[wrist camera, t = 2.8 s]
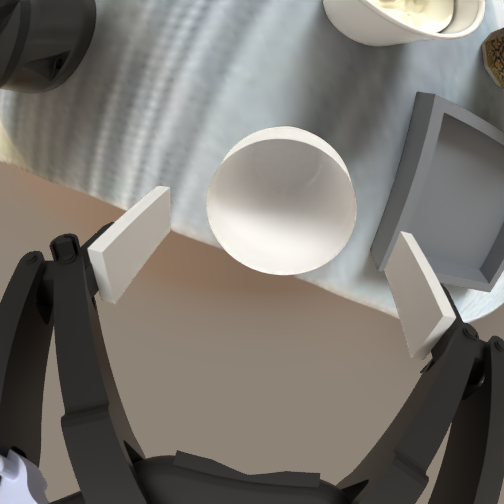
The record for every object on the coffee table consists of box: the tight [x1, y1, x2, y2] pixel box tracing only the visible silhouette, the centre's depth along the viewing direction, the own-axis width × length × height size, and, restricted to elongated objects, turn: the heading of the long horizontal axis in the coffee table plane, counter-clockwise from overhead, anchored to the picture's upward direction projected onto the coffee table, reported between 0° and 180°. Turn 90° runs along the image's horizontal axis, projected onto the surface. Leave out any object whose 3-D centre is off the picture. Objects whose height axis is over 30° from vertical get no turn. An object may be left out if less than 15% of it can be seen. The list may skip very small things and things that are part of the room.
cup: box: [206, 126, 357, 275], centre depth 21 cm, size 9×9×12 cm
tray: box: [370, 92, 504, 292], centre depth 22 cm, size 18×18×4 cm
